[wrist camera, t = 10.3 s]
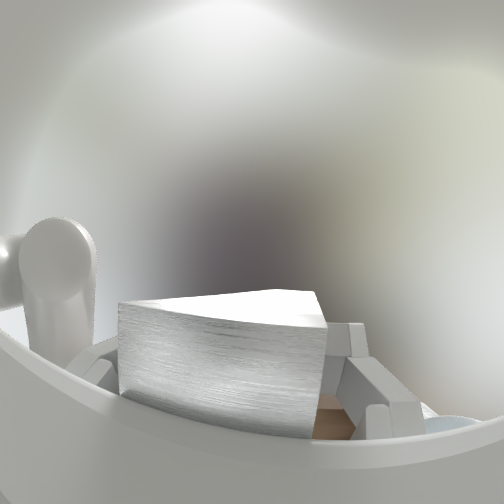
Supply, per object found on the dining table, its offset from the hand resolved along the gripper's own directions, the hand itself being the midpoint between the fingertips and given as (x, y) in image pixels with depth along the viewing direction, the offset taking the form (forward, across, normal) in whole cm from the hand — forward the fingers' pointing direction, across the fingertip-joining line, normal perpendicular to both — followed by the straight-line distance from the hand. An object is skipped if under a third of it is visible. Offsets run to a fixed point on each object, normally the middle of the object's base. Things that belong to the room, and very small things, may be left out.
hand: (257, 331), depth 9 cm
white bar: (+5, 0, -5) cm, 7 cm away
